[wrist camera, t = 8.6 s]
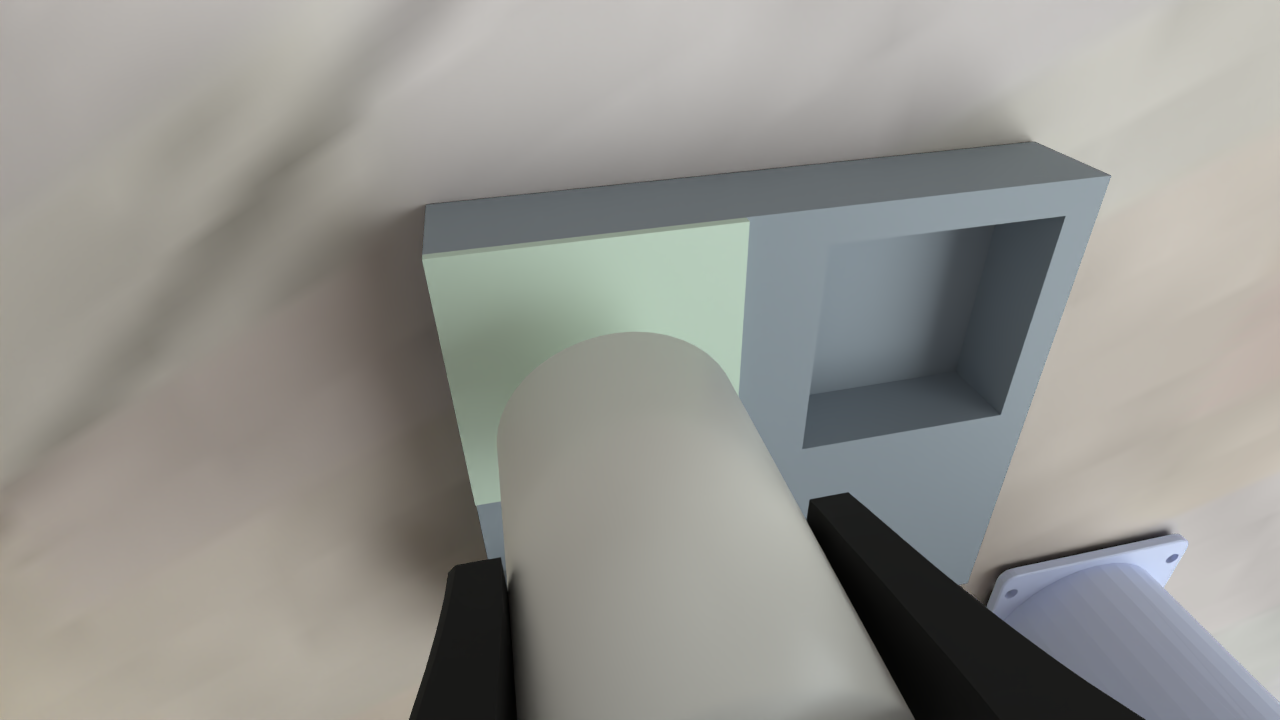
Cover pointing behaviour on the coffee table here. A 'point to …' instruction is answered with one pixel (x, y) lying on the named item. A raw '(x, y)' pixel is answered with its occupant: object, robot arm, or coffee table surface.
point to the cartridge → (666, 552)
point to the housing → (793, 314)
